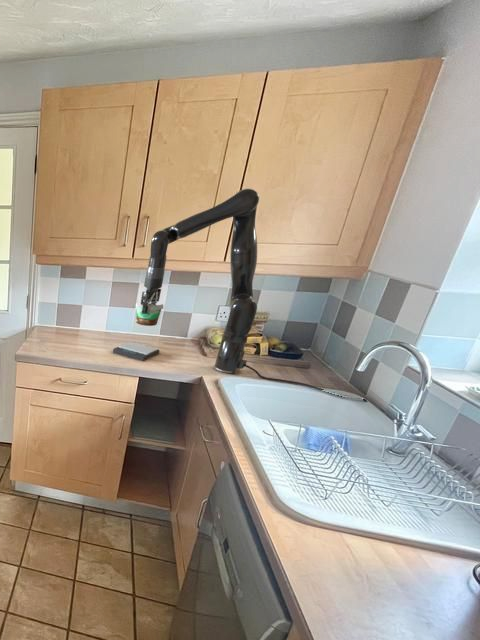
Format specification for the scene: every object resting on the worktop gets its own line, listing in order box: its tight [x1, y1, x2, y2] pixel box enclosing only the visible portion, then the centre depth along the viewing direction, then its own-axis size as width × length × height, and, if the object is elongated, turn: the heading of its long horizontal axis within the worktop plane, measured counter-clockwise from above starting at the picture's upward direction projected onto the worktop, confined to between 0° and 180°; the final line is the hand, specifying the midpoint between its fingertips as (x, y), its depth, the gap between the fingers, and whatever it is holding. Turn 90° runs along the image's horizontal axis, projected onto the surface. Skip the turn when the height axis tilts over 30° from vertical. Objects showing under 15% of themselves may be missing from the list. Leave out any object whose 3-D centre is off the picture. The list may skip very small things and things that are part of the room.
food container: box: [135, 301, 164, 327], centre depth 195 cm, size 12×6×10 cm, turn 63°
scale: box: [112, 341, 160, 362], centre depth 206 cm, size 16×16×3 cm
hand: (148, 312), depth 195 cm, fingers closed on food container, 7 cm apart
